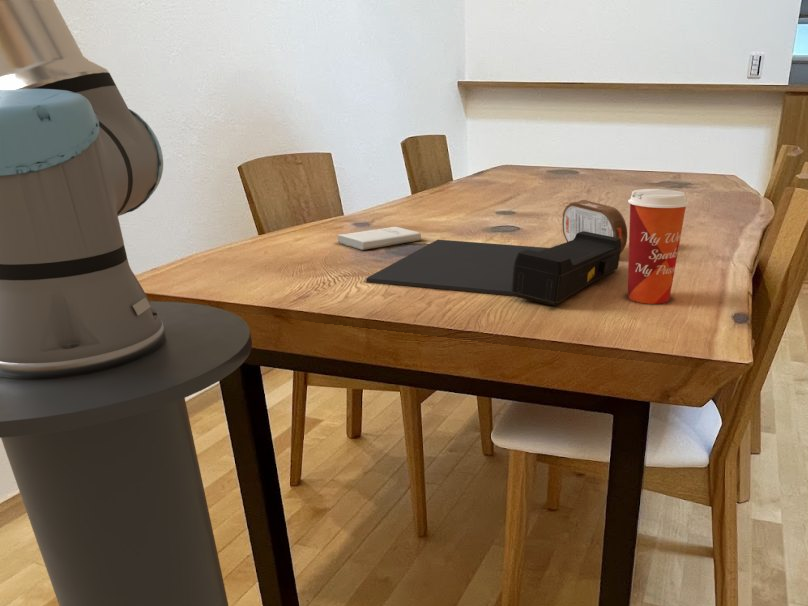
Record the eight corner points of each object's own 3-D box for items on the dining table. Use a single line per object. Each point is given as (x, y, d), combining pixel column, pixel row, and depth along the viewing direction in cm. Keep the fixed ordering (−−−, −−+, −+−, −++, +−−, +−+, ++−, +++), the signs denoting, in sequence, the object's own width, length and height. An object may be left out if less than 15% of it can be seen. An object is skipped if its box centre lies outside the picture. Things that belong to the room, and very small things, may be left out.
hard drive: (338, 243, 119) (394, 234, 127) (363, 251, 113) (421, 240, 121) (337, 234, 118) (394, 225, 126) (363, 241, 113) (420, 231, 121)
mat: (366, 282, 96) (365, 278, 95) (437, 242, 120) (437, 239, 120) (526, 297, 90) (526, 292, 89) (567, 252, 114) (567, 249, 114)
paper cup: (639, 308, 86) (650, 198, 80) (609, 292, 92) (617, 189, 86) (689, 302, 88) (703, 195, 83) (657, 287, 95) (668, 187, 89)
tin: (626, 261, 109) (631, 209, 106) (612, 263, 108) (616, 210, 104) (572, 243, 121) (574, 196, 117) (558, 245, 119) (560, 197, 116)
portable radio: (563, 310, 85) (627, 275, 105) (569, 264, 82) (634, 237, 103) (509, 297, 88) (582, 265, 108) (514, 252, 85) (587, 228, 106)
